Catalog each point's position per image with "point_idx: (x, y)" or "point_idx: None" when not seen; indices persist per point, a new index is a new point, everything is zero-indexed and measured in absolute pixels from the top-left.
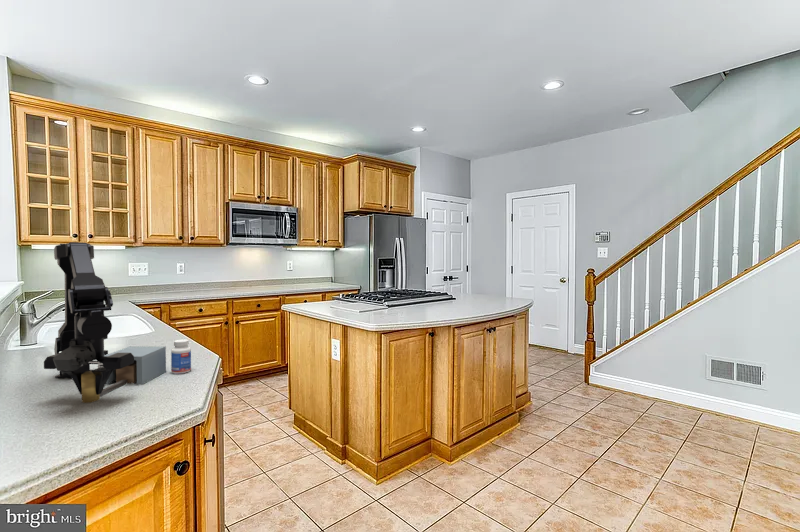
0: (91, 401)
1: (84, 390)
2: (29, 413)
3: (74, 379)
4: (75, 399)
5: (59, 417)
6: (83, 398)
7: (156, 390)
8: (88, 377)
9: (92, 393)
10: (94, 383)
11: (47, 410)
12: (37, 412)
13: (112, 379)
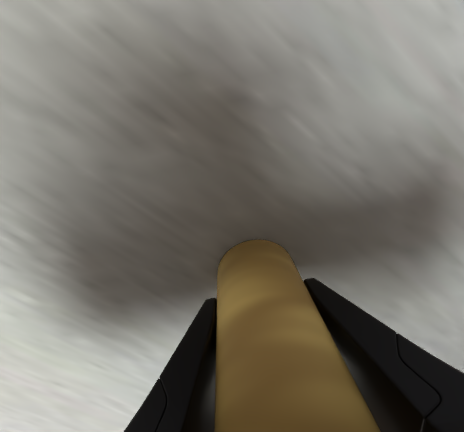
0: (225, 256)
1: (265, 288)
2: (456, 19)
3: (423, 365)
4: (344, 261)
5: (173, 4)
6: (265, 253)
7: (82, 402)
8: (252, 426)
9: (223, 291)
10: (216, 364)
11: (371, 98)
12: (412, 51)
13: None
